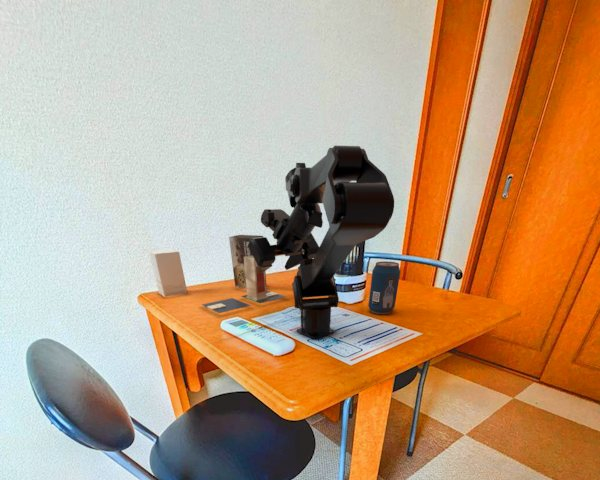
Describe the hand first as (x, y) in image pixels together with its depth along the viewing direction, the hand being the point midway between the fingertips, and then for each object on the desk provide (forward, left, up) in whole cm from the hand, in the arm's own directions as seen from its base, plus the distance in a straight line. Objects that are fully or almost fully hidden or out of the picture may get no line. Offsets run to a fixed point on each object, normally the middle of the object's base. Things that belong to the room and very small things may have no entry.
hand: (272, 270), depth 82 cm
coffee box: (+21, -7, -10) cm, 25 cm away
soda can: (-22, -20, -4) cm, 30 cm away
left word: (+8, +10, -10) cm, 17 cm away
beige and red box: (+8, 0, -9) cm, 12 cm away
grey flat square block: (+8, -3, -10) cm, 13 cm away
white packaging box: (+33, +15, -10) cm, 38 cm away
